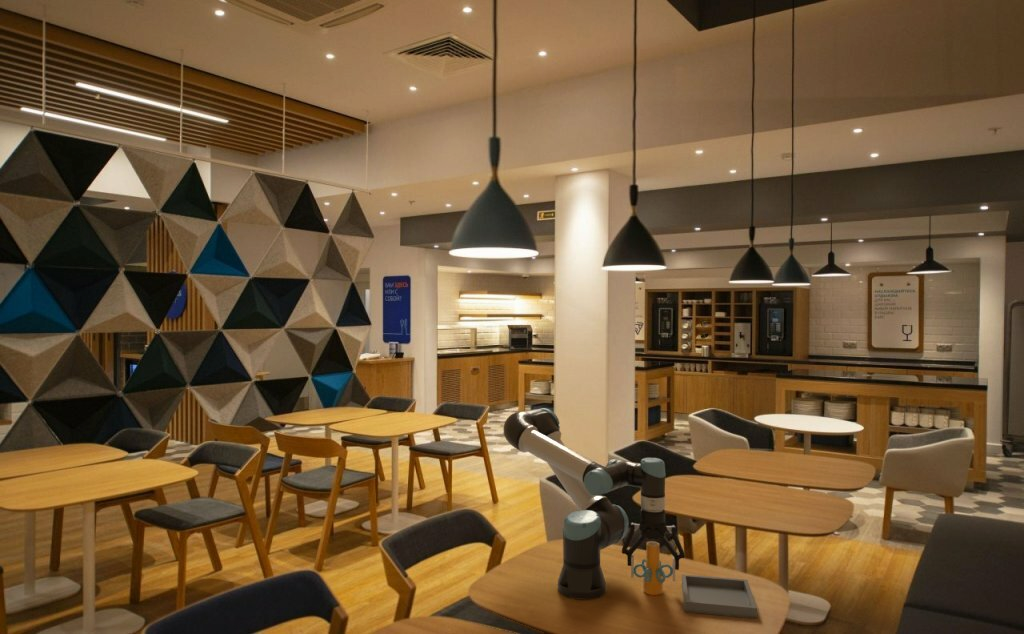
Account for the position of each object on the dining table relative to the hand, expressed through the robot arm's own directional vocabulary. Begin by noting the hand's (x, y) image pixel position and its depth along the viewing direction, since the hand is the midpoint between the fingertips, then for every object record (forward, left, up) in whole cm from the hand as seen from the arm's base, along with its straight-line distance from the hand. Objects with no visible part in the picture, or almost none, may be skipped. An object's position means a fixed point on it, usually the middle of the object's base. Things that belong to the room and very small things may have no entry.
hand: (653, 577), depth 200 cm
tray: (+19, -2, -4) cm, 20 cm away
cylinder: (0, 0, -5) cm, 5 cm away
